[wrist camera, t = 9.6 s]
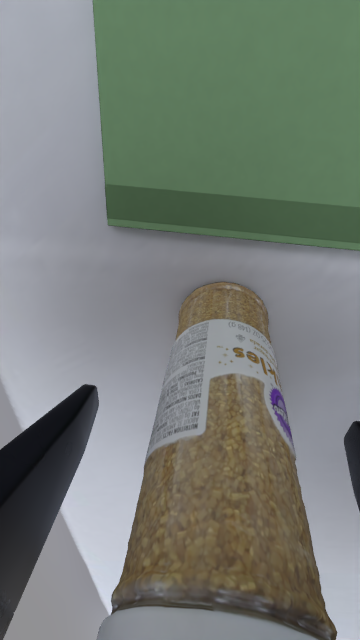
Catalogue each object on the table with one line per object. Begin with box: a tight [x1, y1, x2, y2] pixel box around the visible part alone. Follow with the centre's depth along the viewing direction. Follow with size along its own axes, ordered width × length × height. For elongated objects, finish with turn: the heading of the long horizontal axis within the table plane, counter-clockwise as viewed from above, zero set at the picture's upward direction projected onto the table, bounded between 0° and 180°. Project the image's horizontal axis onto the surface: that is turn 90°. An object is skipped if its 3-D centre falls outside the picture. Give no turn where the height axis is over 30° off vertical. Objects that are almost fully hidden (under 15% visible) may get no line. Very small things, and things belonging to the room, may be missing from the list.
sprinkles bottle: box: [97, 282, 337, 640], centre depth 10 cm, size 5×5×13 cm
